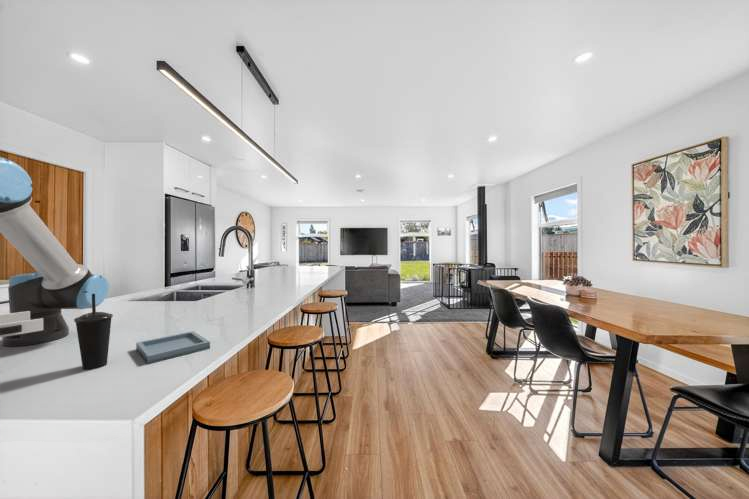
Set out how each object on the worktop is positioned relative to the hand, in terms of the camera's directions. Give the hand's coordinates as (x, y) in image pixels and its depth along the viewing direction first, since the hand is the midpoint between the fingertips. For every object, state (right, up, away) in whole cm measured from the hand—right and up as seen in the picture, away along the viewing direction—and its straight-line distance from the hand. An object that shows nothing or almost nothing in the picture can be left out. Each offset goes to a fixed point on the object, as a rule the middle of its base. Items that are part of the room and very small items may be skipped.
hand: (36, 320), depth 72 cm
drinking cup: (+7, -15, +8) cm, 18 cm away
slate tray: (+19, -14, +21) cm, 32 cm away
